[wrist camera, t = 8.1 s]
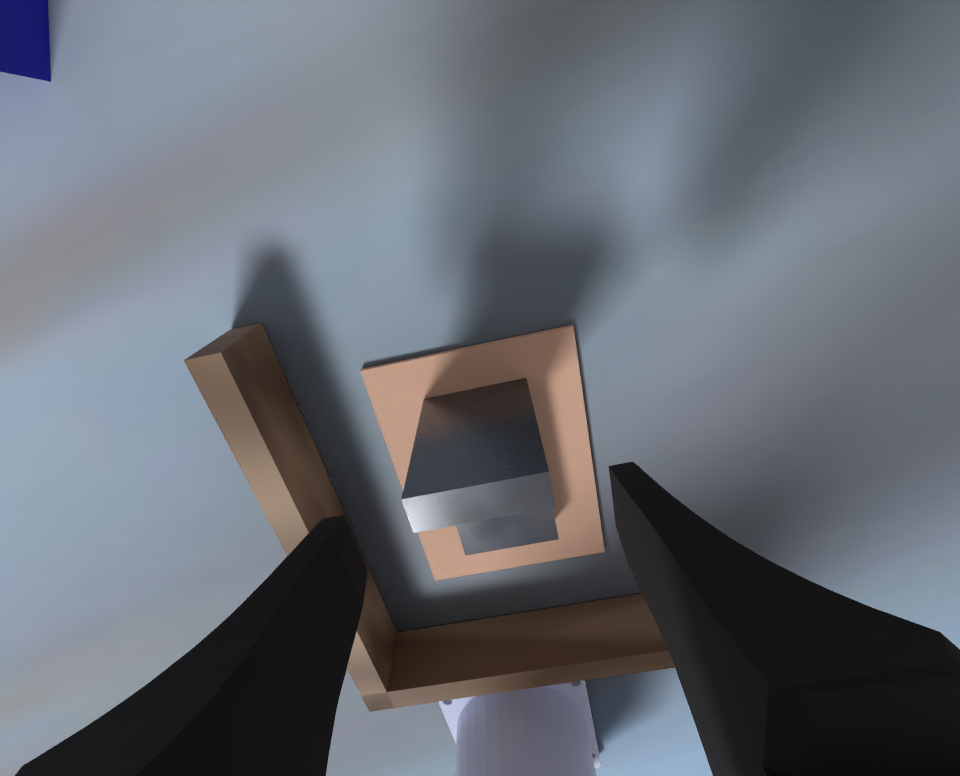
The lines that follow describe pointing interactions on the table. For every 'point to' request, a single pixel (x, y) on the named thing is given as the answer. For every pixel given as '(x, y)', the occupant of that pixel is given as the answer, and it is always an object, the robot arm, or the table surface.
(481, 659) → the corner walls
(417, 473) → the angle bracket
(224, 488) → the table surface
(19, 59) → the blue cradle block
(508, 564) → the mat
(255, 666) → the robot arm
